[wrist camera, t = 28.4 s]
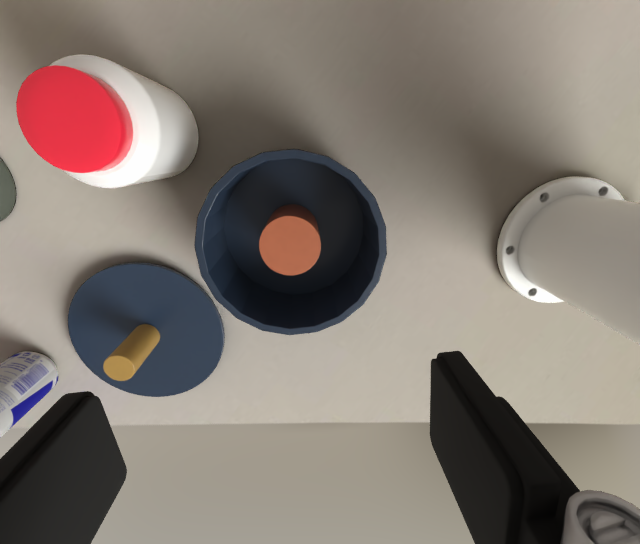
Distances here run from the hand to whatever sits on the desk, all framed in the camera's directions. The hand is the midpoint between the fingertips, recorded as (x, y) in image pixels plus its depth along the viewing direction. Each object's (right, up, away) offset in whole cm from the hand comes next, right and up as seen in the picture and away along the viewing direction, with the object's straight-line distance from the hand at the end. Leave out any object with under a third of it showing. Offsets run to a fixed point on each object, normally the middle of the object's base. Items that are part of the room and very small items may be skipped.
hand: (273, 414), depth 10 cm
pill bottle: (-13, +16, +20) cm, 29 cm away
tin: (-1, +8, +23) cm, 24 cm away
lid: (-16, -2, +25) cm, 30 cm away
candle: (-1, +8, +22) cm, 24 cm away
